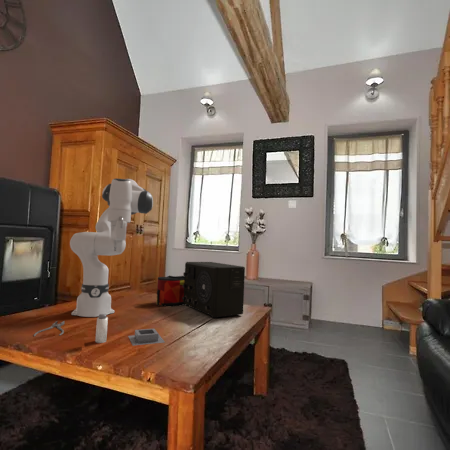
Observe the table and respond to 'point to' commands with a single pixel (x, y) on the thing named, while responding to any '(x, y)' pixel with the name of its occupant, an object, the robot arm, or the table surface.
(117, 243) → the robot arm
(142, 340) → the socket block
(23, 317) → the table surface
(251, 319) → the table surface
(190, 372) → the table surface
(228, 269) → the vintage radio
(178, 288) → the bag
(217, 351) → the table surface
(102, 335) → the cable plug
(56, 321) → the pliers
